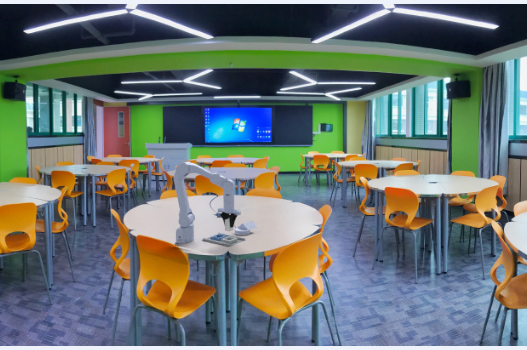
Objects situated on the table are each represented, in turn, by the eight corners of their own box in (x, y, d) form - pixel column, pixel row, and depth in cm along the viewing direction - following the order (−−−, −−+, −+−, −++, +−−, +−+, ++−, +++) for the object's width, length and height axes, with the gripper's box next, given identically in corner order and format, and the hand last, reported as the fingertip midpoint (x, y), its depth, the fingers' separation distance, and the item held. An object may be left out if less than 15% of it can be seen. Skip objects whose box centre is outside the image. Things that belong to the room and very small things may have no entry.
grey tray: (229, 248, 179) (229, 242, 178) (201, 241, 190) (201, 236, 190) (246, 241, 190) (246, 236, 190) (218, 235, 201) (218, 230, 201)
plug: (229, 231, 185) (229, 220, 184) (225, 230, 187) (224, 219, 186) (233, 229, 187) (233, 219, 187) (228, 229, 189) (228, 218, 189)
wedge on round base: (246, 230, 213) (231, 234, 203) (246, 219, 213) (231, 223, 203) (257, 232, 208) (243, 237, 198) (257, 221, 207) (243, 226, 197)
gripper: (244, 202, 184) (244, 227, 186) (223, 199, 193) (223, 223, 194) (235, 204, 179) (236, 229, 180) (214, 201, 187) (215, 225, 188)
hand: (229, 226), depth 187 cm, fingers closed on plug, 3 cm apart
